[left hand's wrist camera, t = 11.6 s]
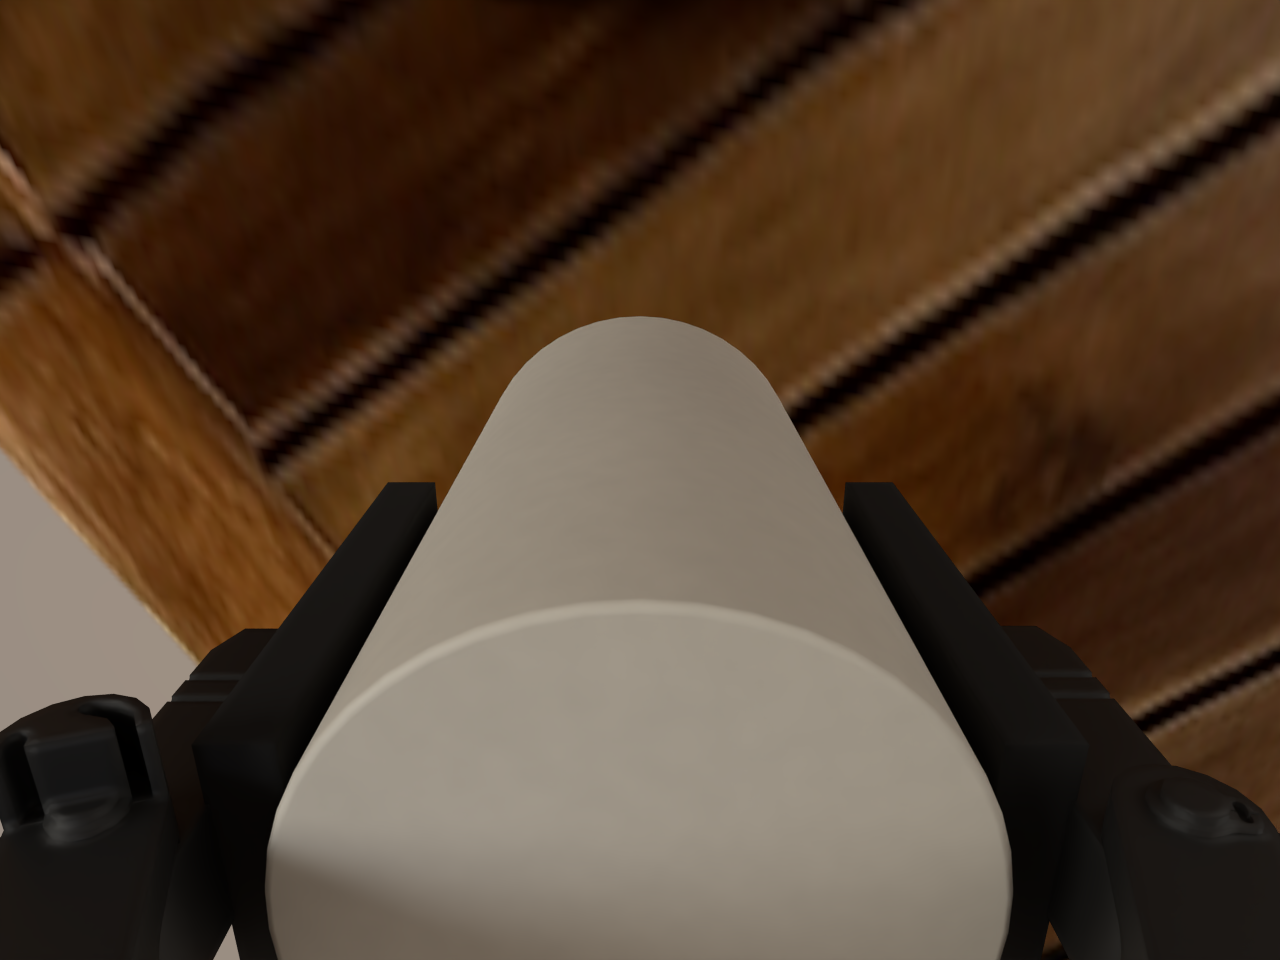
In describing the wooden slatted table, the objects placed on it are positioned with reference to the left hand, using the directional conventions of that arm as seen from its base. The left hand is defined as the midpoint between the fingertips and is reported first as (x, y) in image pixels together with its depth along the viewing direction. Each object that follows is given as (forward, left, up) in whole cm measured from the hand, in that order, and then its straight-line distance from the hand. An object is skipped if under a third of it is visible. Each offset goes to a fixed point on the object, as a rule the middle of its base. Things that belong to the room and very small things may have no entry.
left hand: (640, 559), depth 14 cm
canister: (0, 0, -5) cm, 5 cm away
